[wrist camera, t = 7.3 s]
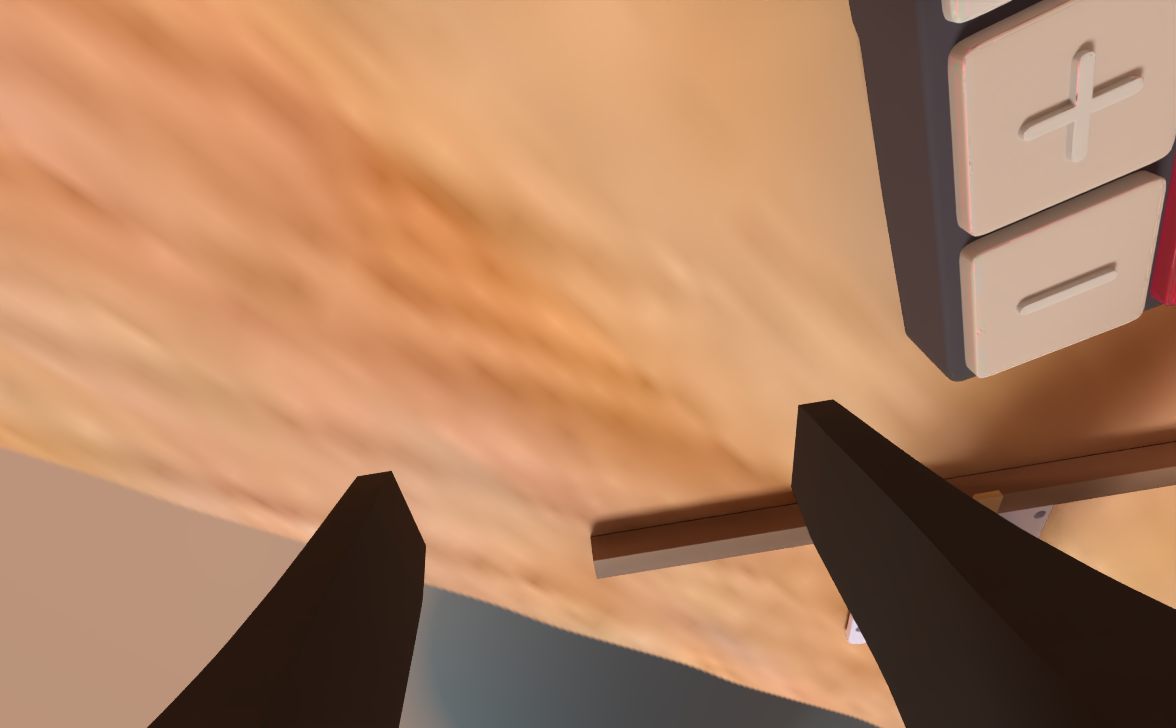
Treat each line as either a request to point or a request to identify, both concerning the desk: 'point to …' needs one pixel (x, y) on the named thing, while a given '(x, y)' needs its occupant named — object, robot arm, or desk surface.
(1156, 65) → the calculator
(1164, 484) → the track
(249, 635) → the robot arm
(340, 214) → the desk surface
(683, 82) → the desk surface
